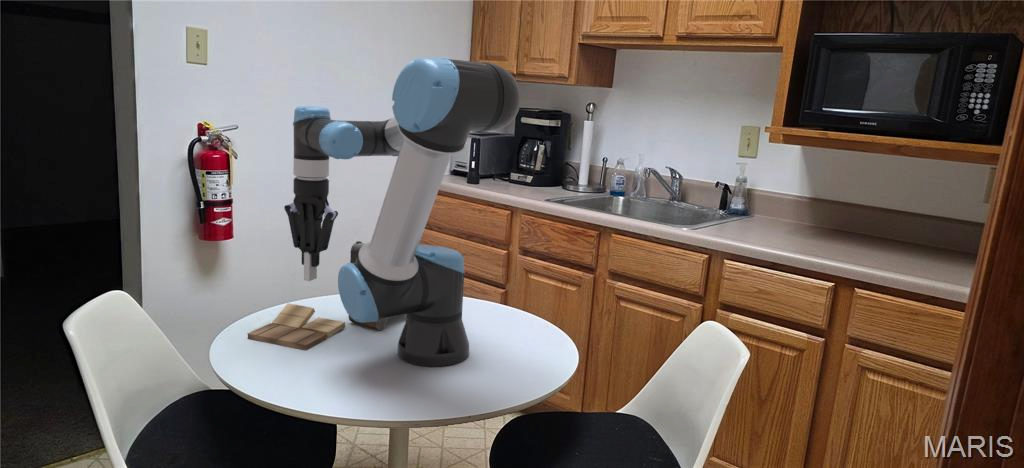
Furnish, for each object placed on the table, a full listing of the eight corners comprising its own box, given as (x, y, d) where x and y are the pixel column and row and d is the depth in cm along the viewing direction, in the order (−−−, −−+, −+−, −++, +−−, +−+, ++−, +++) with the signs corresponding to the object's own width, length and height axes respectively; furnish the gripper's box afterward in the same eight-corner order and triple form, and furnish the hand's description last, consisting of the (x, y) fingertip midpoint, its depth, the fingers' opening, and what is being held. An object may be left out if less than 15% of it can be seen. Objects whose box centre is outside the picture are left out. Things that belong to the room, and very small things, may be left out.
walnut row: (326, 339, 148) (326, 333, 148) (305, 350, 141) (305, 344, 141) (270, 328, 153) (270, 322, 153) (247, 338, 146) (247, 332, 146)
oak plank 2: (345, 326, 155) (345, 321, 155) (328, 337, 149) (328, 332, 149) (318, 322, 157) (318, 316, 157) (301, 332, 151) (301, 326, 151)
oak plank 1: (315, 311, 156) (313, 307, 155) (299, 331, 151) (298, 327, 151) (289, 306, 158) (287, 303, 158) (273, 326, 154) (271, 322, 153)
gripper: (346, 179, 149) (344, 280, 155) (297, 172, 154) (297, 270, 159) (325, 183, 143) (324, 288, 148) (275, 175, 147) (276, 278, 152)
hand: (310, 279), depth 153 cm, fingers closed
